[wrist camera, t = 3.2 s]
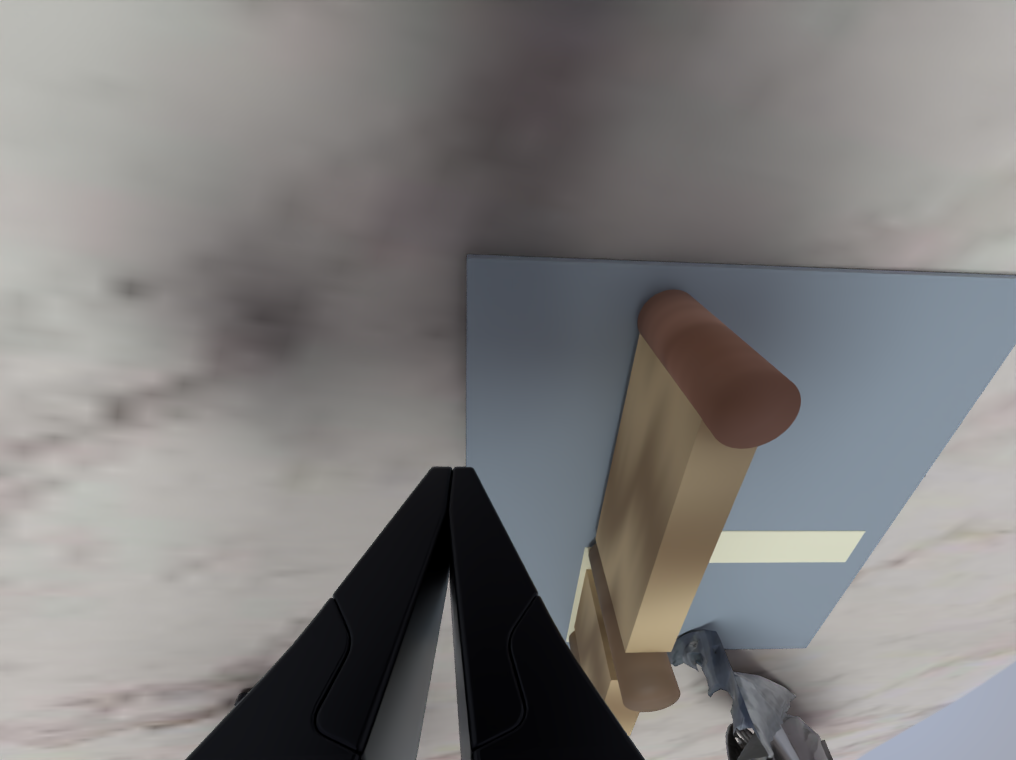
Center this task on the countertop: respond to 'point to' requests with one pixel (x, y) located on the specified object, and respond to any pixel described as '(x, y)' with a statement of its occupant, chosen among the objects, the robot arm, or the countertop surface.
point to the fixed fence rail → (598, 653)
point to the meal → (750, 705)
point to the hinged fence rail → (676, 480)
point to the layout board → (775, 465)
